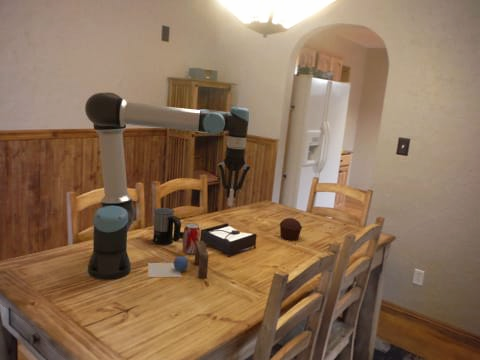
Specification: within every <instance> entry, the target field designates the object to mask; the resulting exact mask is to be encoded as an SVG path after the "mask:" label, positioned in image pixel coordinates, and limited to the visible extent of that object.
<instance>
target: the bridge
mask: <svg viewBox="0 0 480 360" xmlns="http://www.w3.org/2000/svg"><path fill="white" fill-rule="evenodd" d="M204 241H205V240H200V241H196V248H195V254H194V265H198V271H197V273H198V274H197V277H198V279H207V278H208V267H209V258H210V257H209V252H208V250H207V247H206V244H205V242H204Z"/></svg>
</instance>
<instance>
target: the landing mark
mask: <svg viewBox="0 0 480 360" xmlns="http://www.w3.org/2000/svg"><path fill="white" fill-rule="evenodd" d="M148 278H182V274H181V271H178V270H176V269H175V267H174V262H153V263H152V262H148V263H147V279H148Z"/></svg>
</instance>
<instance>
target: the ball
mask: <svg viewBox="0 0 480 360" xmlns="http://www.w3.org/2000/svg"><path fill="white" fill-rule="evenodd" d="M188 261H189V260H188V259H187V257H185V256H177V257H176V258H175V259H174V261H173V263H174V267H175V269H176V270H178V271H180V272H183V271H185V270H186V269H187V268H188V265H189V262H188Z"/></svg>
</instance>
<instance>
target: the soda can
mask: <svg viewBox="0 0 480 360" xmlns="http://www.w3.org/2000/svg"><path fill="white" fill-rule="evenodd" d="M183 232H184V234H183V237H182V251H183V252H184V253H185V254H188V255H193V254H194V255H195V248H196V241H201V240H200V238H201V228H200V225H199V224H197V223H187V224H185V226H184V229H183Z"/></svg>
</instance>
